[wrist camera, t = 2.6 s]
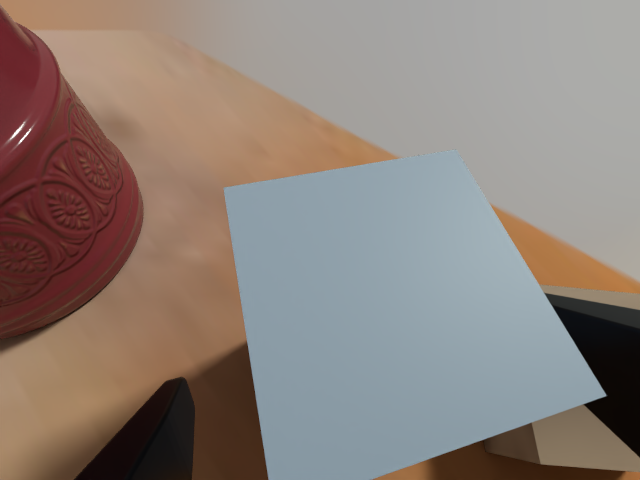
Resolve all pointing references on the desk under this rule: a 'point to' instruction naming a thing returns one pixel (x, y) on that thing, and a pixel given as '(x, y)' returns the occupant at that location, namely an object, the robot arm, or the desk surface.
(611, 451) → the beige block
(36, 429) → the desk surface
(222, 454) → the desk surface
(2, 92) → the canister
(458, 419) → the blue pillar
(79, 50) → the desk surface
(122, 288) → the desk surface
